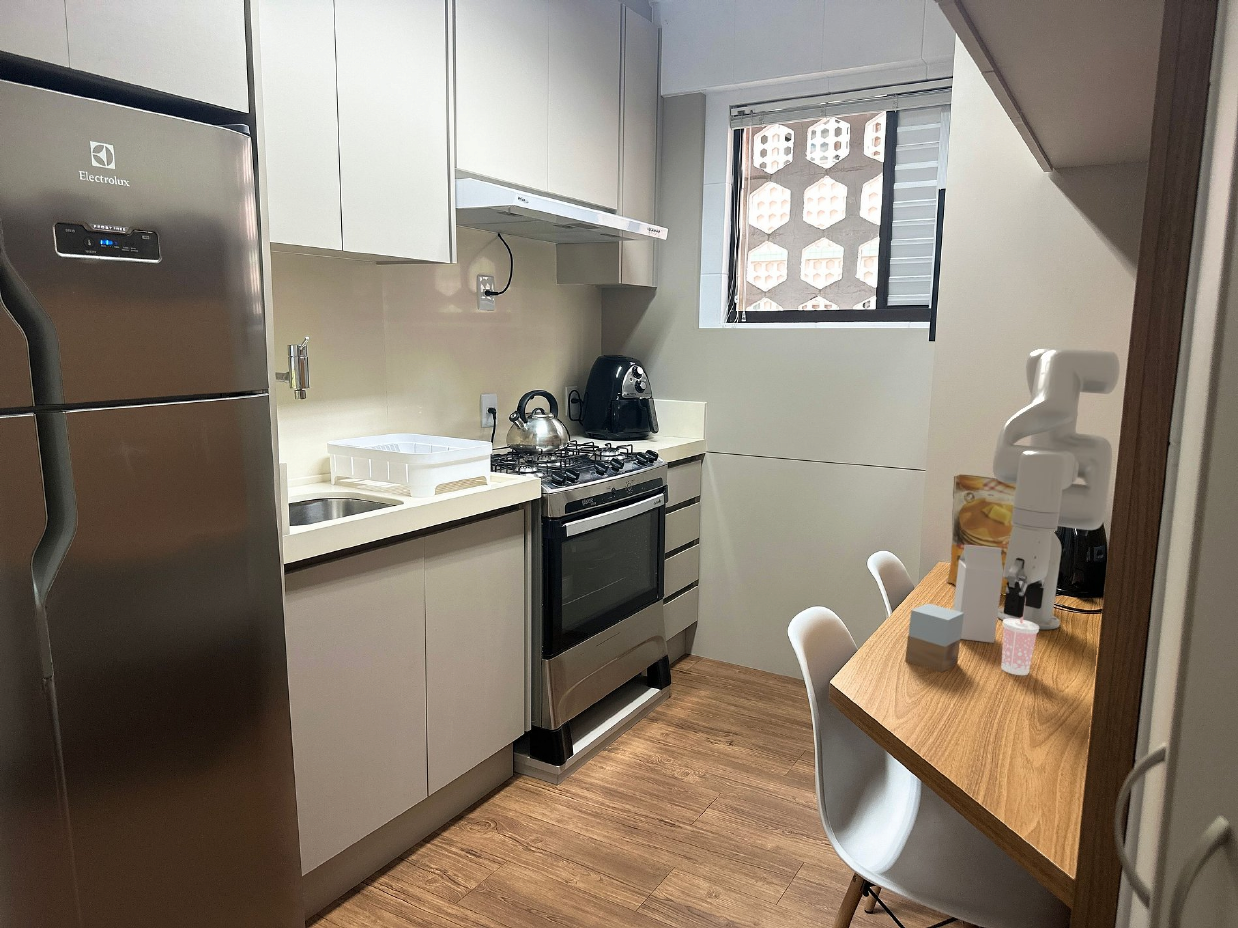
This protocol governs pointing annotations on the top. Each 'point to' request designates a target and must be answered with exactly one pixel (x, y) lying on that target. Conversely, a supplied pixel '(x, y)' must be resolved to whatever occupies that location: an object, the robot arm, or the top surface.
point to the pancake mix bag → (980, 518)
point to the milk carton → (979, 591)
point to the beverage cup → (1018, 645)
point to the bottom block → (932, 654)
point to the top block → (936, 624)
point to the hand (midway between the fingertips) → (1022, 611)
